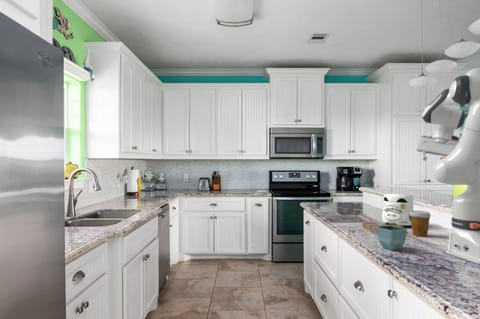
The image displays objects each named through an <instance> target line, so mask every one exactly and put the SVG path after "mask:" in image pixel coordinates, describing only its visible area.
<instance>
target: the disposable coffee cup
mask: <svg viewBox="0 0 480 319" xmlns="http://www.w3.org/2000/svg"><path fill="white" fill-rule="evenodd" d="M409 214H410V218H411V225H412V226H411V231H412V232H411V233H412V236H415V237H417V238H418V237H419V238H427V237H428V235H429V234H428V232H429V226H430V218H431V216H432V215H431V213H430V212H429V211H427V210H426V211H425V210H424V211H423V210H413V211H410V213H409Z"/></svg>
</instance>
